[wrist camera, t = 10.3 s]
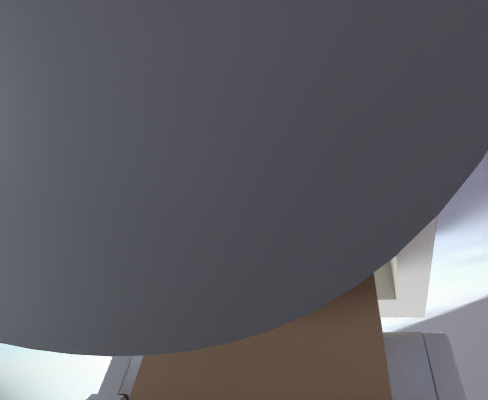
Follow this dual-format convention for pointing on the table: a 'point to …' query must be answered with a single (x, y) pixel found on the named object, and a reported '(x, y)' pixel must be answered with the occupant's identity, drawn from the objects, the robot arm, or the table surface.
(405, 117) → the cruet stand
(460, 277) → the table surface
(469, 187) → the table surface
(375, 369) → the walnut pepper mill
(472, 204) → the table surface
